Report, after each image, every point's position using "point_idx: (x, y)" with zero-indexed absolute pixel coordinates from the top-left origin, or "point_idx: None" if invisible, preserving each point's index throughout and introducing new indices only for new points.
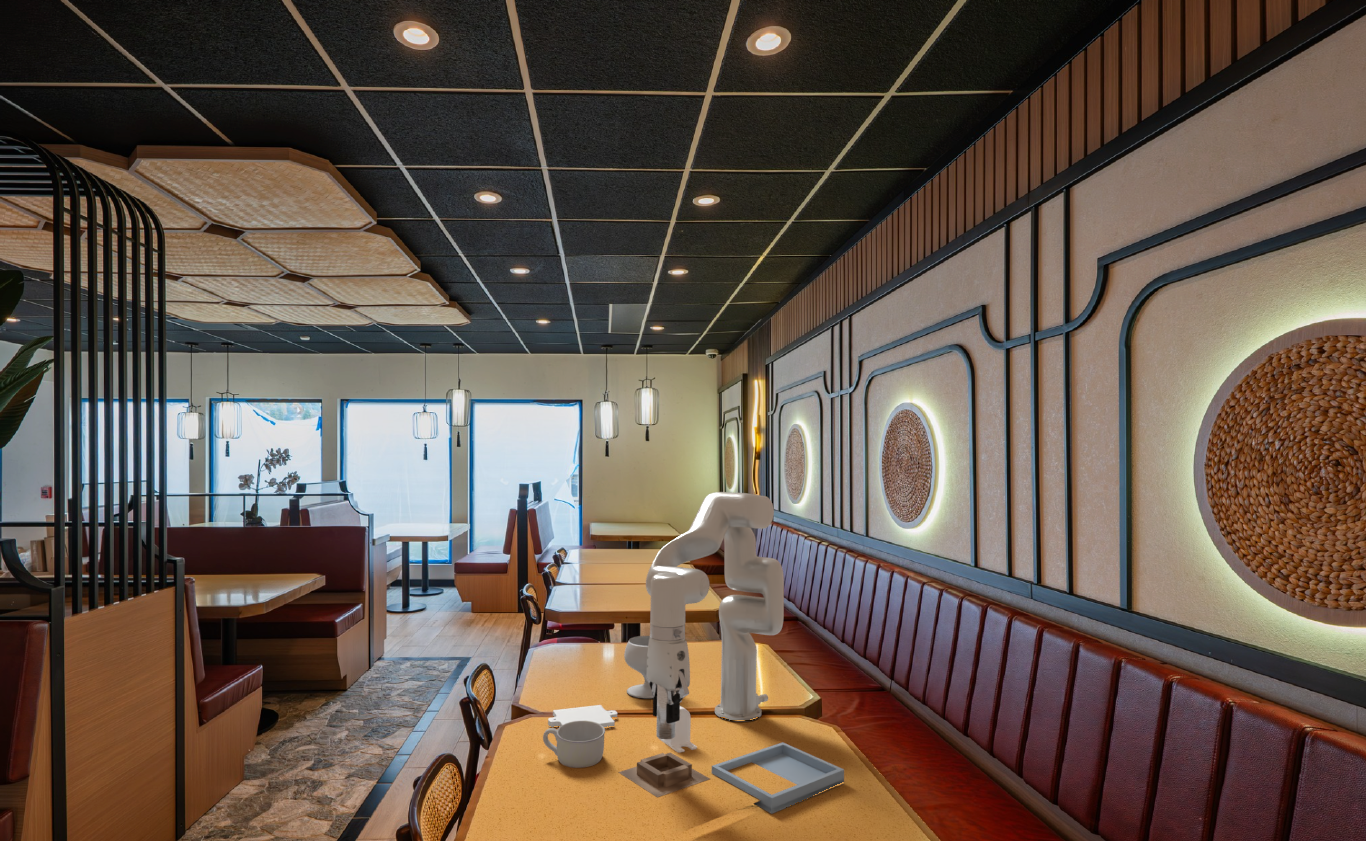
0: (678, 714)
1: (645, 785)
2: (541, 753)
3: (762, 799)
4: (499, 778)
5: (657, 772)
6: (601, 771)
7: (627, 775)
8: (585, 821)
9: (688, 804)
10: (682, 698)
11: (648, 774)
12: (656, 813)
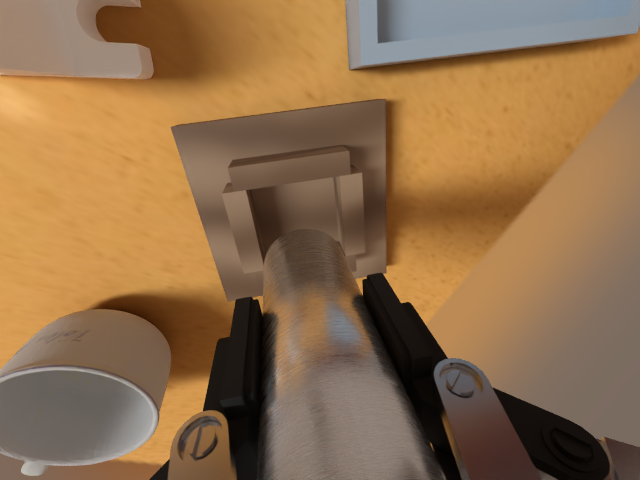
0: (416, 313)
1: None
2: None
3: (582, 40)
4: (144, 450)
5: None
6: (171, 308)
7: (254, 289)
8: None
9: (417, 205)
10: (547, 416)
11: None
12: (406, 277)
